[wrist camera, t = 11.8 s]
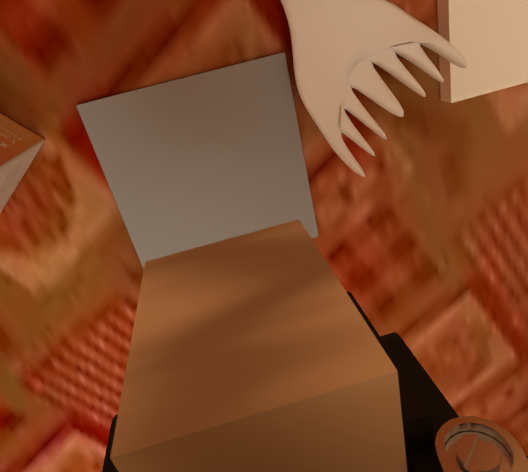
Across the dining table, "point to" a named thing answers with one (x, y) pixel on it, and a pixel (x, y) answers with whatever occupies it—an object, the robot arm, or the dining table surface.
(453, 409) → the robot arm
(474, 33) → the tile
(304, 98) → the cream plastic utensil
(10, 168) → the small box
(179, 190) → the mat
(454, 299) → the dining table surface
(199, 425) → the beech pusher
